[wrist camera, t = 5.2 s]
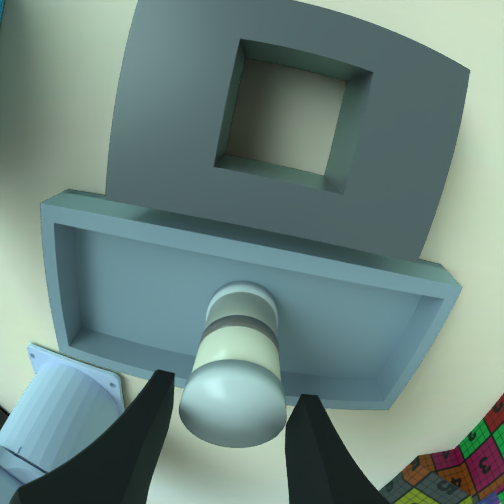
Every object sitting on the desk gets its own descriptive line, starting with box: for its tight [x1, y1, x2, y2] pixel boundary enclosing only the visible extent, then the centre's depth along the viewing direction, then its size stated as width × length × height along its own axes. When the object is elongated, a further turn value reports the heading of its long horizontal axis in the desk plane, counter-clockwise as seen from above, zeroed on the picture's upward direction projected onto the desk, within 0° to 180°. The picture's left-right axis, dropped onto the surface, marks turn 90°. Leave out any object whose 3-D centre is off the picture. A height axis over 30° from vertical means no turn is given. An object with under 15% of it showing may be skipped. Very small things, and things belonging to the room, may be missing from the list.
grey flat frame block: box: [105, 0, 470, 263], centre depth 11 cm, size 8×12×4 cm, turn 78°
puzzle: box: [379, 394, 504, 504], centre depth 19 cm, size 25×17×14 cm
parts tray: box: [40, 189, 462, 410], centre depth 15 cm, size 9×20×2 cm, turn 78°
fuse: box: [179, 281, 287, 448], centre depth 12 cm, size 3×3×7 cm
